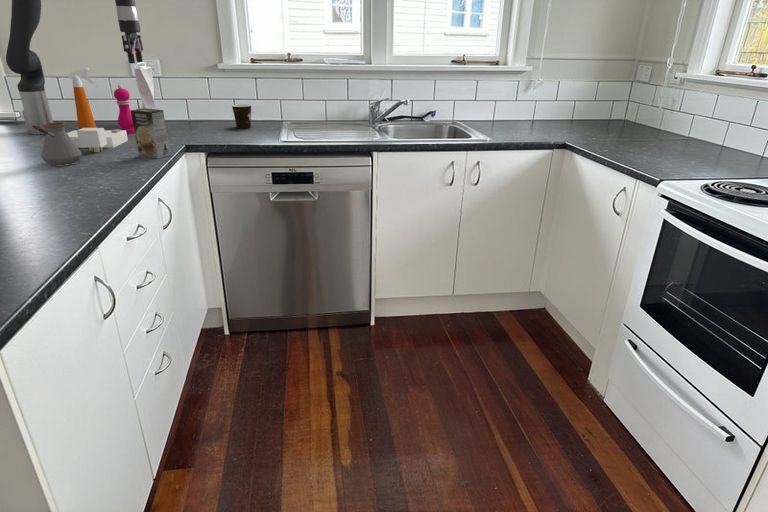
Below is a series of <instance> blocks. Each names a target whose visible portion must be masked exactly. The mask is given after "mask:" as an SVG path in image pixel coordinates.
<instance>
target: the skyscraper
mask: <svg viewBox="0 0 768 512" xmlns="http://www.w3.org/2000/svg"><path fill="white" fill-rule="evenodd" d="M141 64H144V65H141ZM138 65H140V66H138ZM137 66H138V67H137ZM133 70H134V77H135V80H136V86H137V89H138V93H139V96H140V98H141V106H142V107H140V103H139V100H138V98H137V99H136V102H137V103H136V104H137V109H141V108H148V109H157V105H156V102H155V98H154V97H155V95H154V94H155V91H154V90H155V86H154V78H153V71H152V67H151V66H147V62H146V61H145V62H144V61H143V62H136V63H135V65H134V67H133ZM157 110H158V109H157Z"/></svg>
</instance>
